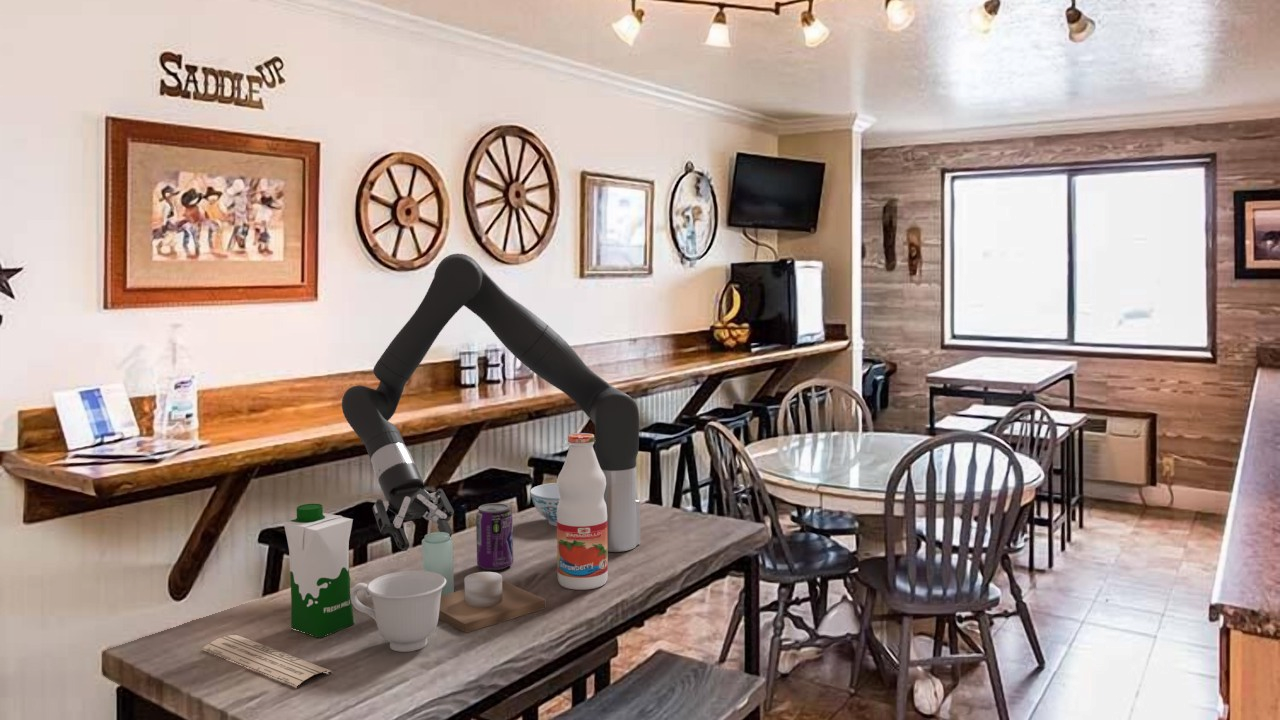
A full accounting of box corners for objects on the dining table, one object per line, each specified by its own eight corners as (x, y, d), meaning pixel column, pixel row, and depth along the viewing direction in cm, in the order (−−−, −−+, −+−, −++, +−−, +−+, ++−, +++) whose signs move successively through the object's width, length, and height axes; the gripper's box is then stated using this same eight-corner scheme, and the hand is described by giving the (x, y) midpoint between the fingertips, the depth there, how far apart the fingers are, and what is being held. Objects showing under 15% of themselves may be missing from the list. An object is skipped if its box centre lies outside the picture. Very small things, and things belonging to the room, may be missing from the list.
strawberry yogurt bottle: (607, 573, 177) (606, 430, 174) (607, 590, 167) (606, 439, 165) (558, 574, 176) (557, 430, 174) (556, 591, 167) (554, 440, 164)
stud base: (500, 587, 169) (500, 558, 169) (545, 608, 159) (544, 577, 158) (422, 609, 158) (421, 578, 158) (465, 632, 148) (464, 600, 148)
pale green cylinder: (444, 586, 170) (442, 529, 169) (459, 593, 166) (458, 535, 165) (418, 593, 166) (416, 535, 165) (432, 601, 162) (431, 541, 161)
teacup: (365, 629, 150) (363, 569, 149) (455, 629, 149) (454, 570, 148) (338, 660, 138) (336, 596, 137) (437, 661, 137) (435, 596, 136)
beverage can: (506, 573, 177) (505, 512, 176) (471, 571, 179) (470, 510, 177) (518, 561, 184) (517, 503, 183) (484, 559, 185) (483, 501, 184)
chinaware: (517, 523, 212) (516, 490, 211) (563, 510, 223) (563, 479, 222) (563, 535, 202) (563, 501, 201) (609, 521, 213) (608, 488, 212)
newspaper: (203, 655, 142) (202, 643, 142) (244, 639, 148) (244, 628, 147) (297, 694, 129) (296, 681, 128) (339, 675, 135) (338, 663, 134)
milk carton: (326, 613, 157) (322, 498, 155) (362, 623, 152) (358, 506, 150) (282, 630, 149) (277, 510, 148) (319, 642, 145) (314, 518, 143)
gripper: (367, 466, 168) (398, 541, 161) (436, 455, 178) (468, 525, 170) (355, 489, 173) (385, 563, 166) (424, 478, 182) (454, 547, 175)
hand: (427, 544), depth 168 cm, fingers open, 8 cm apart
